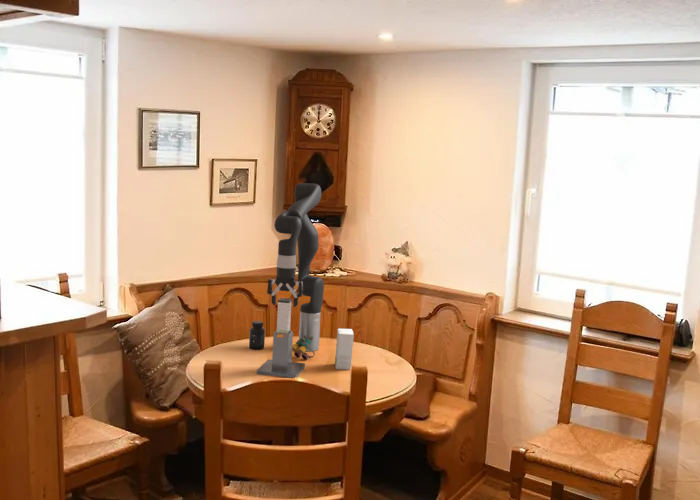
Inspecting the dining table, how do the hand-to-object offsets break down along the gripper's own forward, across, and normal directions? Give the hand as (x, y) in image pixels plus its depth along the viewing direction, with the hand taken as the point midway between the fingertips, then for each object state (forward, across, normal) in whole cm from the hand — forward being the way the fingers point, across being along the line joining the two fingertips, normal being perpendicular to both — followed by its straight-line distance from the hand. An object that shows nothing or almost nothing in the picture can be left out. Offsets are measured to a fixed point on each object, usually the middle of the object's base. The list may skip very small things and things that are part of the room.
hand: (284, 305), depth 286 cm
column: (+19, 0, 0) cm, 19 cm away
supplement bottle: (+27, +19, -27) cm, 43 cm away
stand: (+27, 0, 0) cm, 27 cm away
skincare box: (+27, -23, -14) cm, 38 cm away
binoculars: (+27, -4, -19) cm, 33 cm away
